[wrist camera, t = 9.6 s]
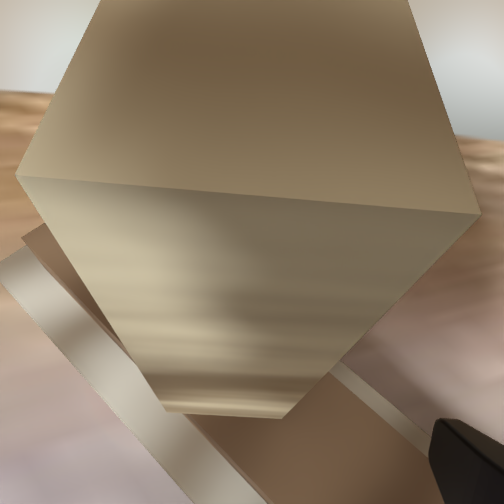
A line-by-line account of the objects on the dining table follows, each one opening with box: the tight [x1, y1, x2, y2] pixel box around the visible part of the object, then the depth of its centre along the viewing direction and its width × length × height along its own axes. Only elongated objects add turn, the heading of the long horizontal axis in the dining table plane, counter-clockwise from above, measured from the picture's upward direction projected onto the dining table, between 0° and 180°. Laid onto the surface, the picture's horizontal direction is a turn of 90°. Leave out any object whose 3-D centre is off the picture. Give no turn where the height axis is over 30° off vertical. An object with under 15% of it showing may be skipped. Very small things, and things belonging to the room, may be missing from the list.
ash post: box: [15, 0, 482, 419], centre depth 10 cm, size 4×4×13 cm
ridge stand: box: [0, 223, 444, 504], centre depth 17 cm, size 30×9×4 cm, turn 48°
